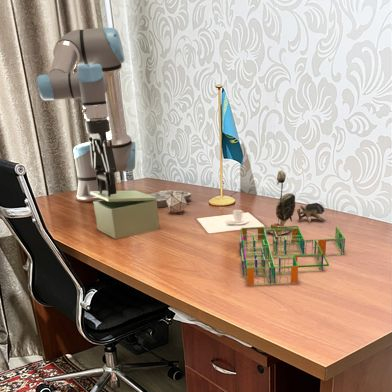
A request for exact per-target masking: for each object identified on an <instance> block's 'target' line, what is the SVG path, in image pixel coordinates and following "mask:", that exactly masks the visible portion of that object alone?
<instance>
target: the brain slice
mask: <svg viewBox="0 0 392 392" xmlns="http://www.w3.org/2000/svg"><path fill="white" fill-rule="evenodd" d="M172 191H173V193H182V192H184V193H183V196H184V198H185V200H186V202H187V203H188V201H189V200H190V199H191V196H192V193H191V192H189V191H186V190H160V191H158V192H149V193H147V194H148V195H150V196H153V197H156V200H157V208H165V207H167V208H169V207H168V205H167V203H166V202H164V200H165V201H166V200H167V199H168V198H169V197H170V195H171V194H172Z"/></svg>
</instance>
